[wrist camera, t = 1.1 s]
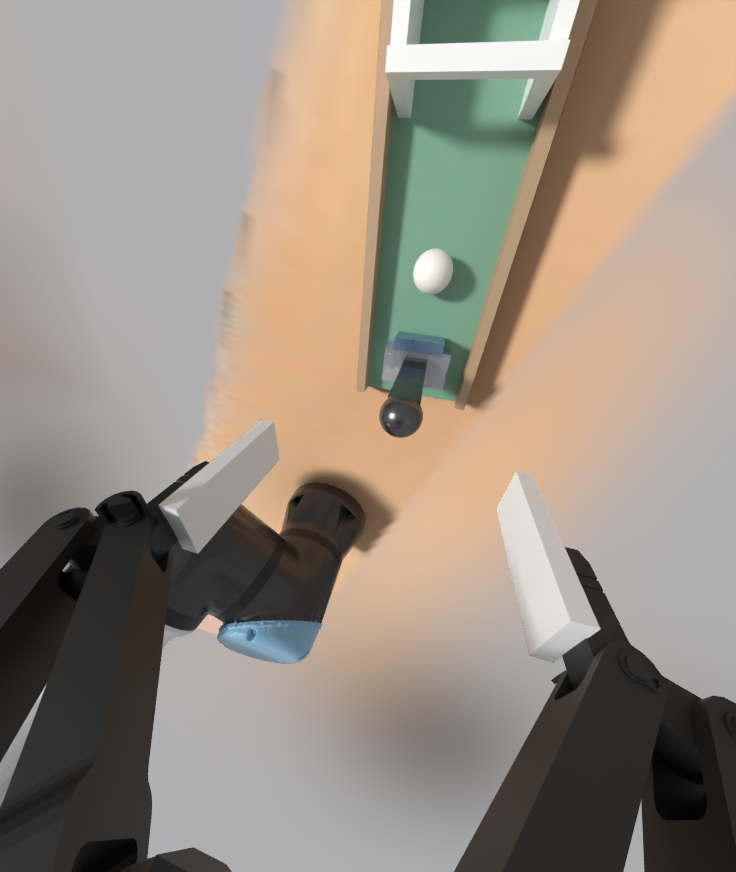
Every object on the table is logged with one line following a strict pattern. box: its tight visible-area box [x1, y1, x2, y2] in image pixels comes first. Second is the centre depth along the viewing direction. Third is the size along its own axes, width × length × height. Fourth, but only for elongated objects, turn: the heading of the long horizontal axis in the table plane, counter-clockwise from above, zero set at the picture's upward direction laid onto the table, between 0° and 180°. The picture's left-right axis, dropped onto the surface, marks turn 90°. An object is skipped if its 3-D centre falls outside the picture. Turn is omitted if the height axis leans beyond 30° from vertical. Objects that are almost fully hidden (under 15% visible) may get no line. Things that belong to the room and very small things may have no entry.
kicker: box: [379, 331, 451, 438], centre depth 24 cm, size 5×7×15 cm
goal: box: [385, 0, 580, 120], centre depth 16 cm, size 7×10×6 cm
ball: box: [413, 248, 453, 294], centre depth 24 cm, size 4×4×4 cm
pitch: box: [357, 0, 599, 410], centre depth 24 cm, size 30×13×3 cm, turn 175°
